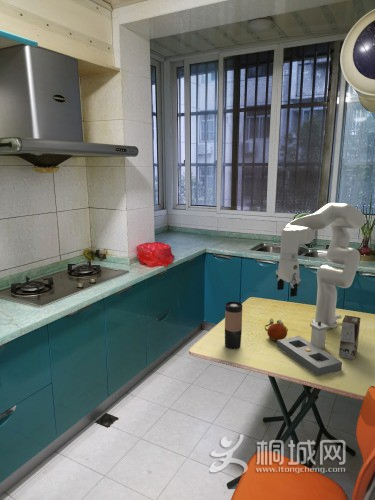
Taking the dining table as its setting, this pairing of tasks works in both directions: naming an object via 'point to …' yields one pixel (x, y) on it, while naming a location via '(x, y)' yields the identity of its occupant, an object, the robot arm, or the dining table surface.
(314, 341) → the plug
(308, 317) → the dining table surface
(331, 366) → the socket block
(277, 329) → the fruit
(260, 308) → the dining table surface
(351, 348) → the coffee box
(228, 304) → the travel mug
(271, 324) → the extension cord
